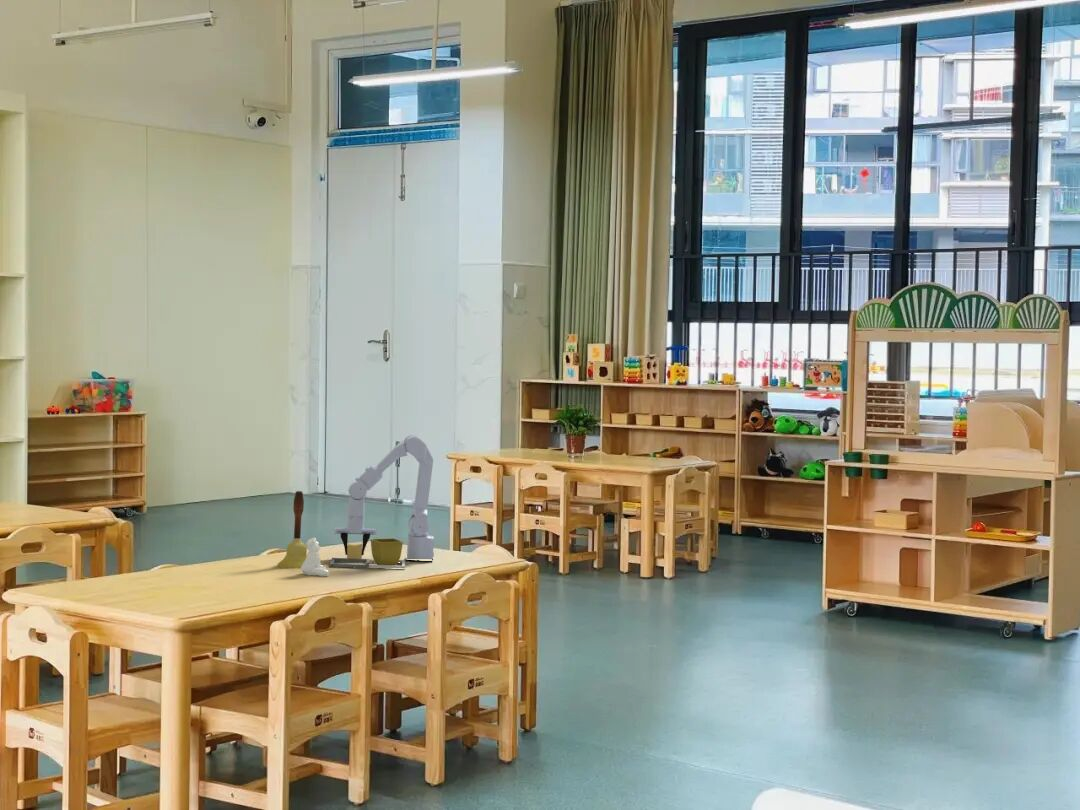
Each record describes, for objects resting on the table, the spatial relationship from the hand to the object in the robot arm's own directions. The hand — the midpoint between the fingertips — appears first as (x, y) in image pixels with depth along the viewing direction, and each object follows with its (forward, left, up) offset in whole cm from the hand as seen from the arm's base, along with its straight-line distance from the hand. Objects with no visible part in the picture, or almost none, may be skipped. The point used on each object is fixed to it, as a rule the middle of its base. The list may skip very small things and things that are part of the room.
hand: (354, 554), depth 461 cm
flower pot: (-11, +13, -2) cm, 17 cm away
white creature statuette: (+12, +34, -2) cm, 36 cm away
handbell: (+19, +17, -2) cm, 26 cm away
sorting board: (-5, +13, -2) cm, 14 cm away
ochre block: (0, 0, -1) cm, 1 cm away
